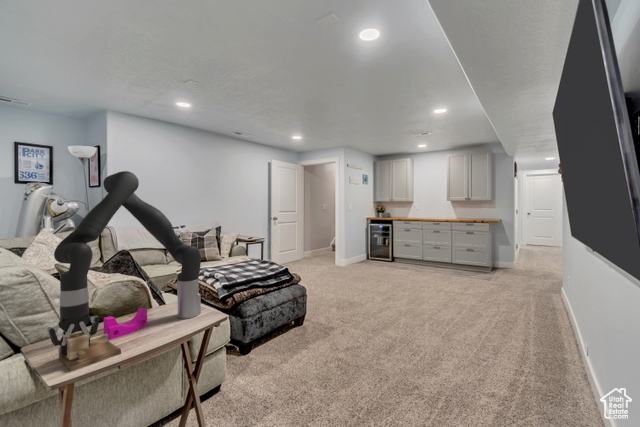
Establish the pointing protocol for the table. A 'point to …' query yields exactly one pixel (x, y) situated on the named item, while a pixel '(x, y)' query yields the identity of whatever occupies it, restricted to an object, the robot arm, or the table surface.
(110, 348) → the board
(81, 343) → the beige rectangular block
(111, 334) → the toy block
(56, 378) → the table surface
